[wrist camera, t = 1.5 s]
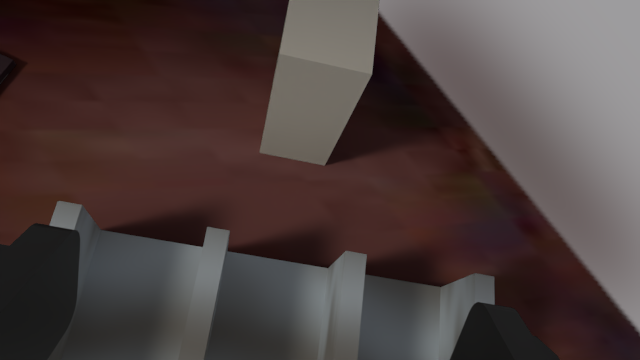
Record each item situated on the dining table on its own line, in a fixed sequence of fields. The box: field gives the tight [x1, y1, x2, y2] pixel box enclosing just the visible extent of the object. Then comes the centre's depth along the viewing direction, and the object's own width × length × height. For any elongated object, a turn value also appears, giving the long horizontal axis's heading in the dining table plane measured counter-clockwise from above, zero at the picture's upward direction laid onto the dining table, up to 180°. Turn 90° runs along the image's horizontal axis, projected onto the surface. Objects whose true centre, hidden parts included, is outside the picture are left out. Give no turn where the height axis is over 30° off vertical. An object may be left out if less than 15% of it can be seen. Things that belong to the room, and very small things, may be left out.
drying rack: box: [48, 201, 495, 360], centre depth 23 cm, size 10×20×5 cm, turn 82°
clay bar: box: [260, 0, 379, 165], centre depth 27 cm, size 5×4×10 cm
